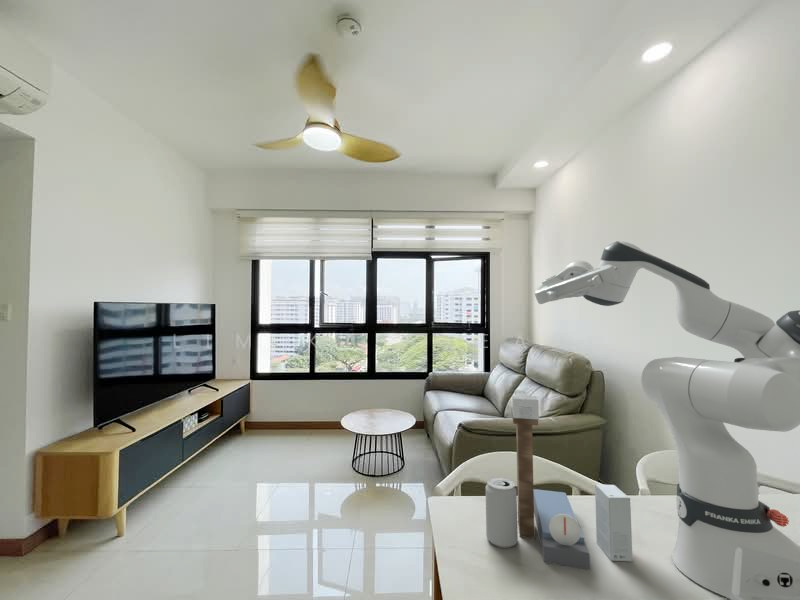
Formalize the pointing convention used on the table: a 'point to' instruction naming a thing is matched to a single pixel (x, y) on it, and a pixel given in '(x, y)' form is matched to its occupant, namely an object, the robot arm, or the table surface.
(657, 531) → the table surface
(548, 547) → the platform scale
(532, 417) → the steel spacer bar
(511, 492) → the beverage can
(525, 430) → the walnut post stand
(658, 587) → the table surface
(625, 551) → the skincare box
